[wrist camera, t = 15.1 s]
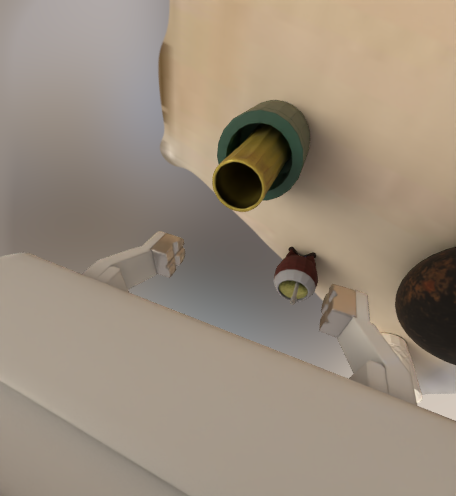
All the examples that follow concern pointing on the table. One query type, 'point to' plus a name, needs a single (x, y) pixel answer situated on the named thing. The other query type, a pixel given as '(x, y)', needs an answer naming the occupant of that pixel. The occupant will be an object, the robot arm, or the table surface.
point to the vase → (251, 169)
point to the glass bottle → (431, 304)
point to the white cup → (404, 359)
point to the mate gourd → (296, 276)
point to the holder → (284, 121)
